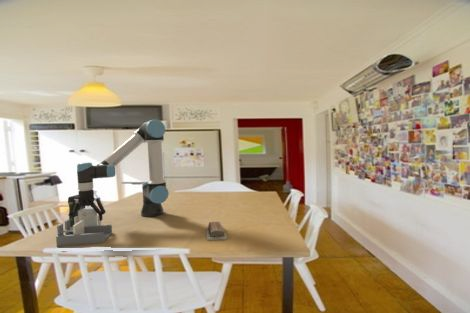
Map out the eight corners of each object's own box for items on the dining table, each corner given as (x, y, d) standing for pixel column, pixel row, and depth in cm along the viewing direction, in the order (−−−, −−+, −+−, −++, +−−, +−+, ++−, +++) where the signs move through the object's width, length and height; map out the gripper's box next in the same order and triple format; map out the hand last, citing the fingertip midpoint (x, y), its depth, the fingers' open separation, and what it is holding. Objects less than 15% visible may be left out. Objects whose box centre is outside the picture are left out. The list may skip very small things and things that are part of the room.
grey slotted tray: (112, 233, 144) (111, 215, 143) (103, 242, 130) (102, 223, 129) (70, 236, 140) (69, 218, 140) (56, 246, 127) (55, 226, 126)
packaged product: (205, 221, 145) (222, 220, 147) (205, 230, 146) (222, 228, 147) (207, 232, 128) (226, 230, 129) (207, 241, 128) (227, 240, 129)
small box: (93, 228, 153) (92, 206, 153) (98, 230, 149) (96, 208, 149) (78, 232, 147) (77, 209, 147) (82, 234, 143) (81, 211, 142)
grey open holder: (84, 234, 140) (83, 219, 139) (75, 241, 130) (74, 225, 129) (66, 235, 138) (65, 221, 138) (56, 243, 128) (55, 227, 128)
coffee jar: (77, 227, 157) (75, 196, 156) (66, 226, 159) (64, 196, 158) (89, 222, 166) (88, 193, 165) (79, 221, 168) (77, 193, 167)
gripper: (110, 187, 153) (112, 223, 154) (66, 189, 149) (68, 226, 150) (106, 189, 145) (108, 227, 146) (59, 192, 142) (62, 230, 143)
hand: (88, 227), depth 148 cm, fingers open, 12 cm apart
